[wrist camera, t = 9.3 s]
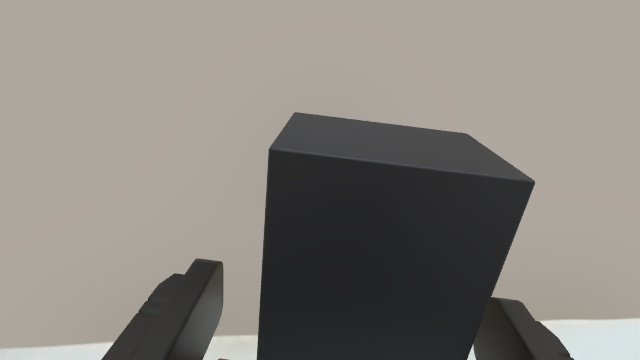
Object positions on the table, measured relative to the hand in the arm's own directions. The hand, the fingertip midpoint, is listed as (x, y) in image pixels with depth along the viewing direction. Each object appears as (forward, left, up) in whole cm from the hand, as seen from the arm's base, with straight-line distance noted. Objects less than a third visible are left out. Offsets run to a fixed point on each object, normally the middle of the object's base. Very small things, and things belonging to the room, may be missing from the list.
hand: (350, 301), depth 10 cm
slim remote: (+1, +1, -7) cm, 7 cm away
